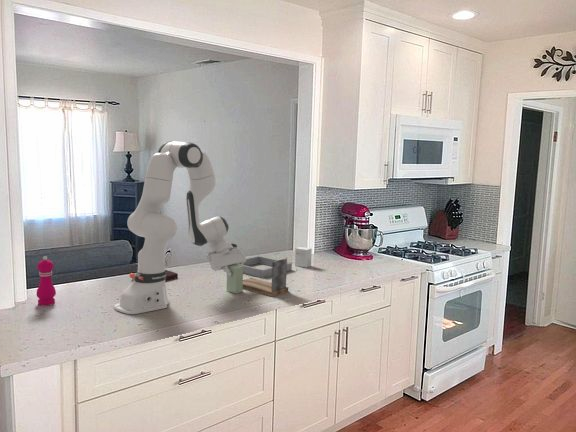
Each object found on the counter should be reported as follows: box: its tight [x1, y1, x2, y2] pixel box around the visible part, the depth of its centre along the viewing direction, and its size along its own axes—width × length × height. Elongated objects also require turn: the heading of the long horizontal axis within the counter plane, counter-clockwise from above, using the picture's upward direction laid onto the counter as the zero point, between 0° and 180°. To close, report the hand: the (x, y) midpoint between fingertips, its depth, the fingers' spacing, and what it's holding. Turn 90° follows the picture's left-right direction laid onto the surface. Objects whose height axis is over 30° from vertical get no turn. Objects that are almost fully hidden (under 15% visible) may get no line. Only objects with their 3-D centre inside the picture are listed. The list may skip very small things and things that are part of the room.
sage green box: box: [226, 265, 244, 294], centre depth 234 cm, size 4×6×12 cm
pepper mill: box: [36, 255, 57, 306], centre depth 205 cm, size 7×7×20 cm
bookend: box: [243, 258, 289, 297], centre depth 239 cm, size 12×24×16 cm, turn 52°
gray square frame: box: [240, 255, 293, 279], centre depth 277 cm, size 25×25×4 cm
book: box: [131, 269, 179, 282], centre depth 249 cm, size 12×19×3 cm, turn 145°
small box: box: [294, 246, 312, 269], centre depth 290 cm, size 8×6×10 cm
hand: (235, 274), depth 233 cm, fingers closed on sage green box, 4 cm apart
